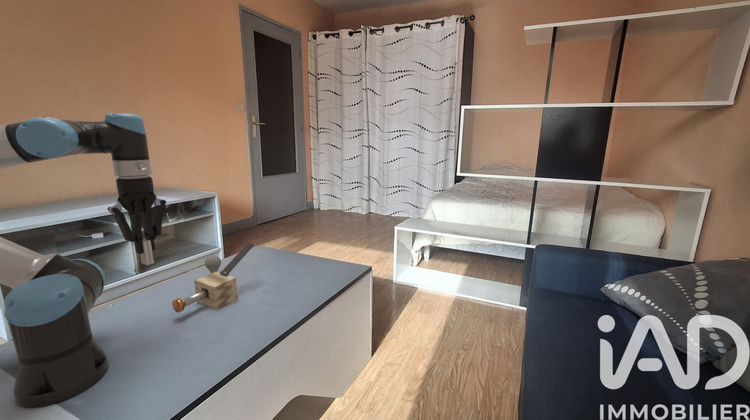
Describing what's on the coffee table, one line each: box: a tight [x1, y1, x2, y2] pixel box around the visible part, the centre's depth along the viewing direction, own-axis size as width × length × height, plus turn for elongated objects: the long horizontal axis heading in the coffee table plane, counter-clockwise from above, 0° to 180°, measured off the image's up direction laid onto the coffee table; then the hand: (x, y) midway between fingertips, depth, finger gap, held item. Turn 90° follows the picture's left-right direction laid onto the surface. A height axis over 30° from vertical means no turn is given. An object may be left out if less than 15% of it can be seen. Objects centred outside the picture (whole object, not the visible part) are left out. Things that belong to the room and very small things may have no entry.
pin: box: [171, 289, 209, 314], centre depth 101 cm, size 13×4×4 cm, turn 152°
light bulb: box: [204, 255, 222, 274], centre depth 122 cm, size 5×6×10 cm
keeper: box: [219, 242, 255, 276], centre depth 113 cm, size 15×3×1 cm
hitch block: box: [193, 271, 238, 311], centre depth 107 cm, size 8×10×8 cm
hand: (147, 263), depth 87 cm, fingers closed
